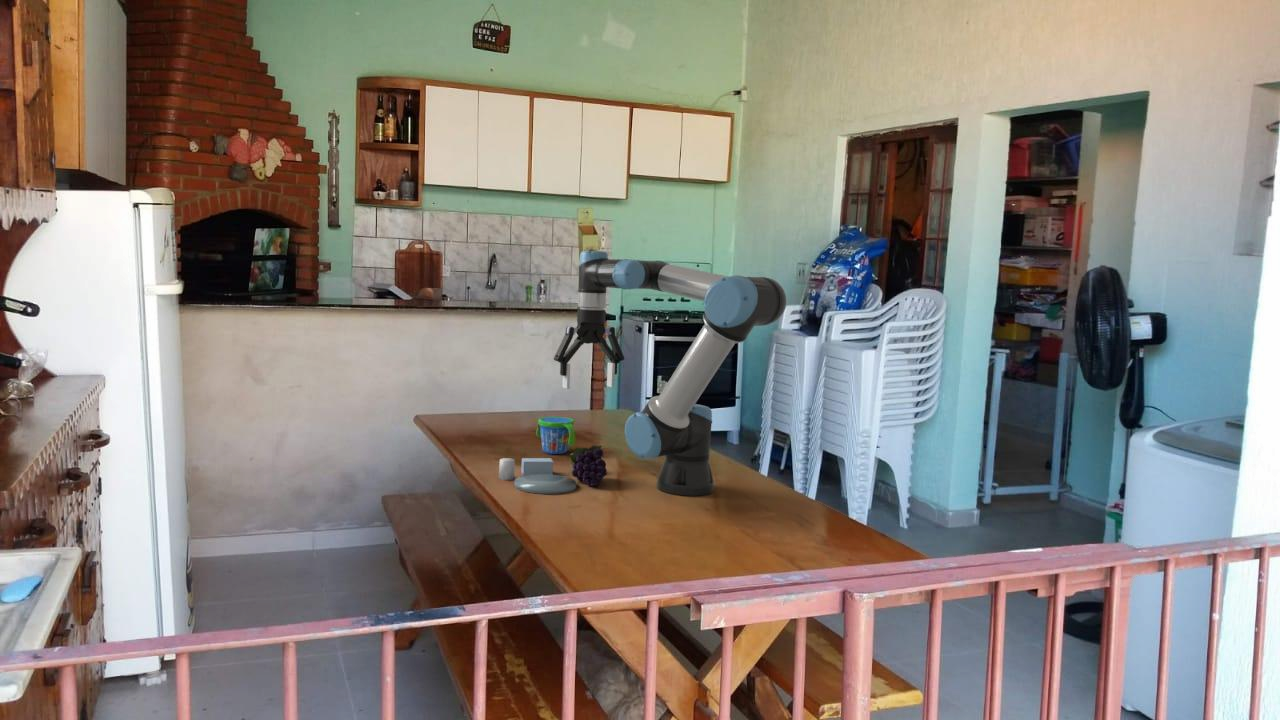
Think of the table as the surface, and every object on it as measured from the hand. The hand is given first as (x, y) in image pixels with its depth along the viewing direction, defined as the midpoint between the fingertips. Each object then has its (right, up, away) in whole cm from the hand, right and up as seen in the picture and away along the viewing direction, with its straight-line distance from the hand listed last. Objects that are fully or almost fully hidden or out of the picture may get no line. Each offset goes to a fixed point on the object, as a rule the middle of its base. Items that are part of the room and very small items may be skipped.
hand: (588, 387), depth 253 cm
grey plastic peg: (-22, -24, -4) cm, 33 cm away
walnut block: (-2, -24, +9) cm, 26 cm away
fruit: (0, -26, -3) cm, 26 cm away
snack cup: (-12, -21, +31) cm, 39 cm away
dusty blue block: (-14, -24, +4) cm, 28 cm away
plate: (-11, -25, -9) cm, 29 cm away
